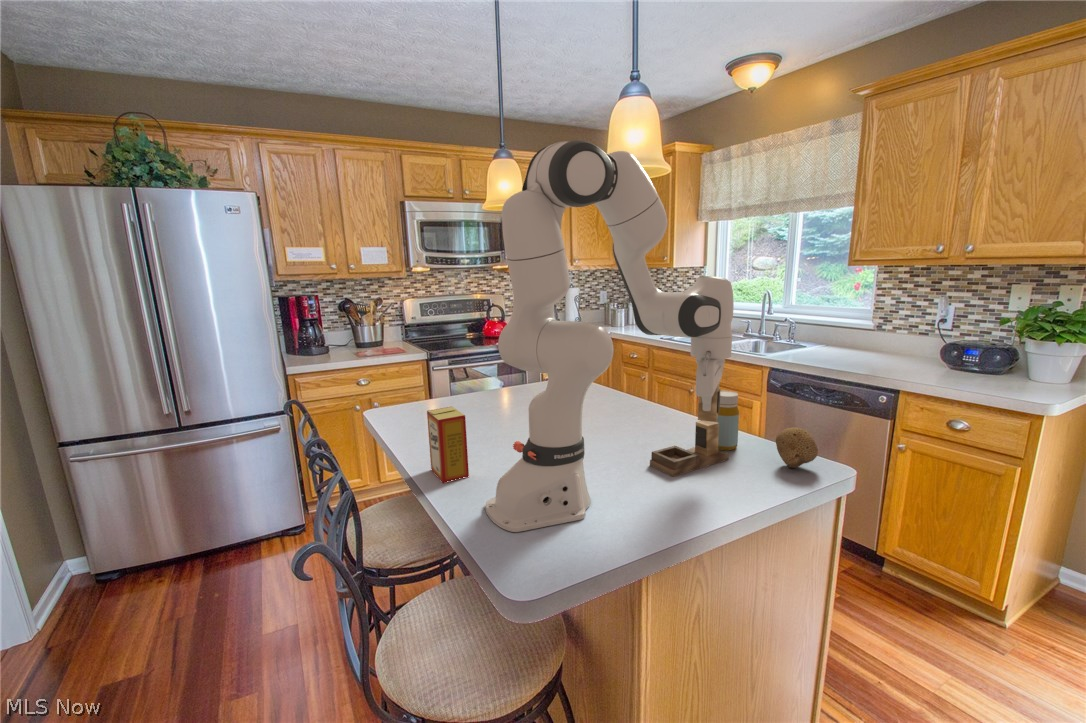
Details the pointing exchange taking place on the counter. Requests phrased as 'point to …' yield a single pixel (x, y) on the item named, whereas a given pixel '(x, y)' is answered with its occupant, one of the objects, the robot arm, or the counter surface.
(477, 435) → the counter surface
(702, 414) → the block
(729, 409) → the bottle
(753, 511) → the counter surface
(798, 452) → the natural sponge
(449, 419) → the baking soda box
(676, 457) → the wooden block holder
